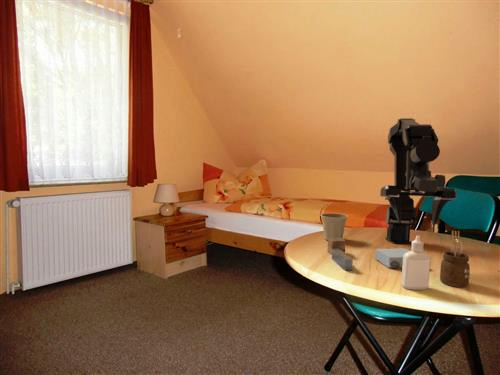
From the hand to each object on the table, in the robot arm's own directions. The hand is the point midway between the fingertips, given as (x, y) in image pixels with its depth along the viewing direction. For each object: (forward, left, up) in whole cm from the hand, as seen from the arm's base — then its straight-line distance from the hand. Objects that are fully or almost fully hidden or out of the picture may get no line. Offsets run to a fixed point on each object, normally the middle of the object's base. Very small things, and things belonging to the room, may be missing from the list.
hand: (416, 223), depth 97 cm
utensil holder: (-1, +15, -11) cm, 19 cm away
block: (+19, -10, -11) cm, 24 cm away
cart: (+5, 0, -11) cm, 12 cm away
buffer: (+21, 0, -11) cm, 24 cm away
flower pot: (+14, -27, -11) cm, 32 cm away
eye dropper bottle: (+10, +17, -11) cm, 23 cm away
